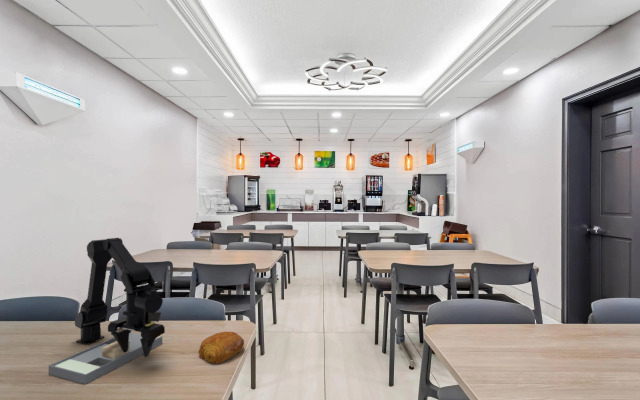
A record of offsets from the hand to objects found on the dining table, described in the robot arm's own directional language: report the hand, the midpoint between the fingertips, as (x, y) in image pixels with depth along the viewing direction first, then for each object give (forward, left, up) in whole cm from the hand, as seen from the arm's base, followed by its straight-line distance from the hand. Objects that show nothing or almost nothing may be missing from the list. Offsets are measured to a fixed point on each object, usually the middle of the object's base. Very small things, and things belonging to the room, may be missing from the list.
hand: (136, 354), depth 106 cm
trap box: (-12, 0, -3) cm, 12 cm away
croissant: (+21, +16, -4) cm, 27 cm away
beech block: (-8, -1, -1) cm, 8 cm away
